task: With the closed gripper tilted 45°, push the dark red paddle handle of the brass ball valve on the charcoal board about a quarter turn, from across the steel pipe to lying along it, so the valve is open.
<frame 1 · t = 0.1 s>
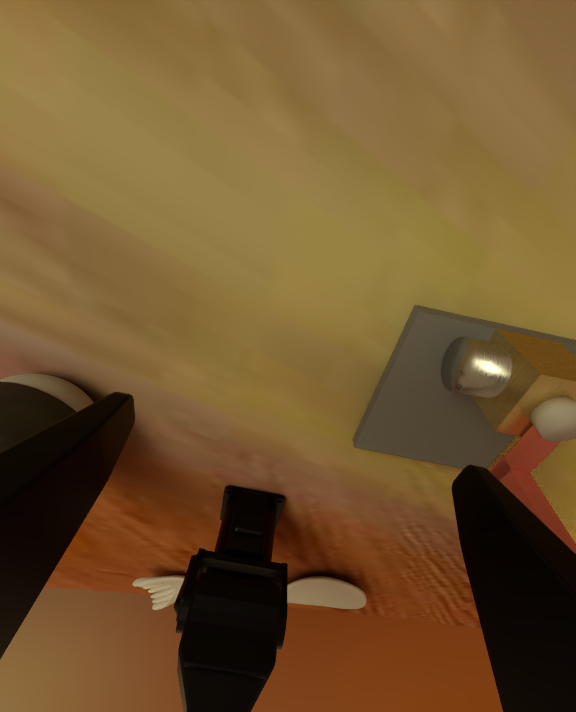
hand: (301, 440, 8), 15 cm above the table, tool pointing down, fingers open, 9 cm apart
valve lever: (542, 517, 17), point 10 cm above the table, hinge at 0.0°
white double-ended utensil part: (253, 576, 47), on the table
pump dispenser: (64, 399, 29), on the table
ball valve: (501, 354, 23), resting on mounting board
mounting board: (451, 396, 26), on the table
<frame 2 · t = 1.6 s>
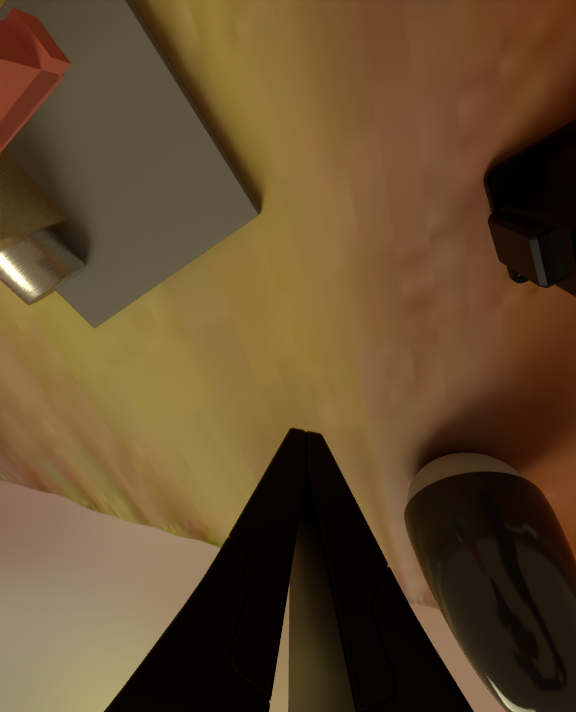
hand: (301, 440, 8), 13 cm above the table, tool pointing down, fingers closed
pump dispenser: (455, 472, 28), on the table
ball valve: (25, 202, 18), resting on mounting board
mounting board: (96, 179, 17), on the table
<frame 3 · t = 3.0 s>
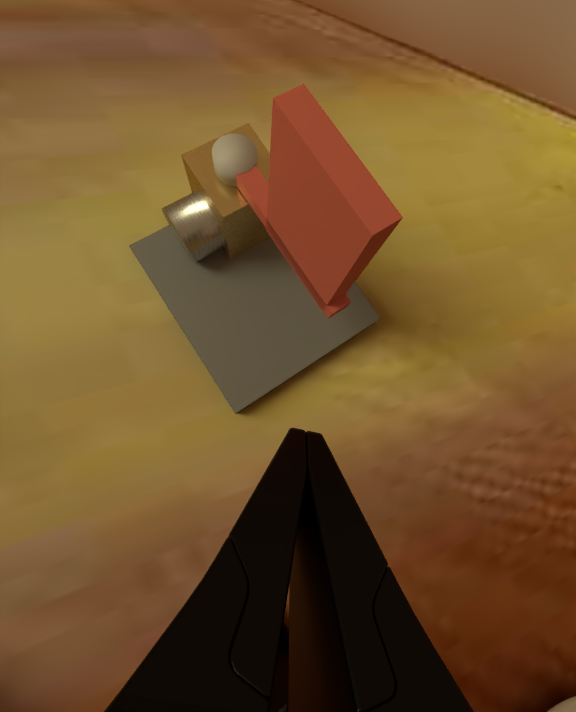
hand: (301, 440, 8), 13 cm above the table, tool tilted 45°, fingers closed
valve lever: (285, 182, 14), point 10 cm above the table, hinge at 0.0°
ball valve: (241, 228, 24), resting on mounting board
mounting board: (257, 288, 23), on the table
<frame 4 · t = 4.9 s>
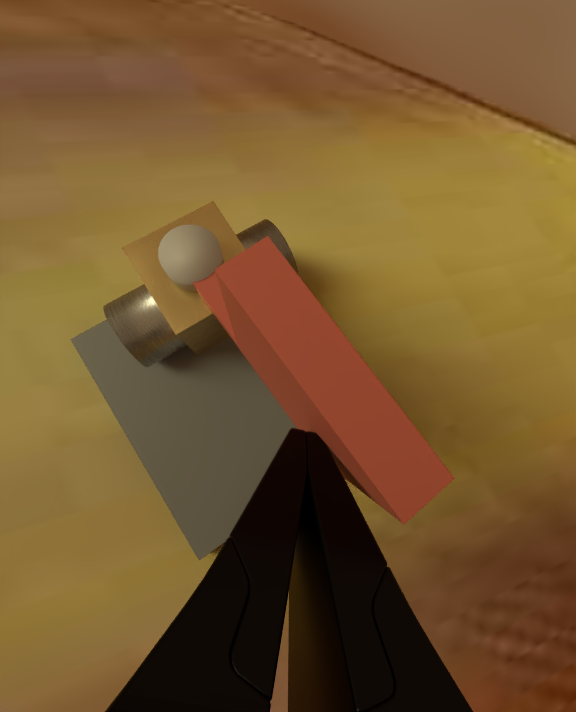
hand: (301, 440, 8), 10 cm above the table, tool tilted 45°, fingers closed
valve lever: (255, 323, 10), point 10 cm above the table, hinge at 3.7°, touching gripper
ball valve: (214, 309, 19), resting on mounting board
mounting board: (232, 385, 19), on the table
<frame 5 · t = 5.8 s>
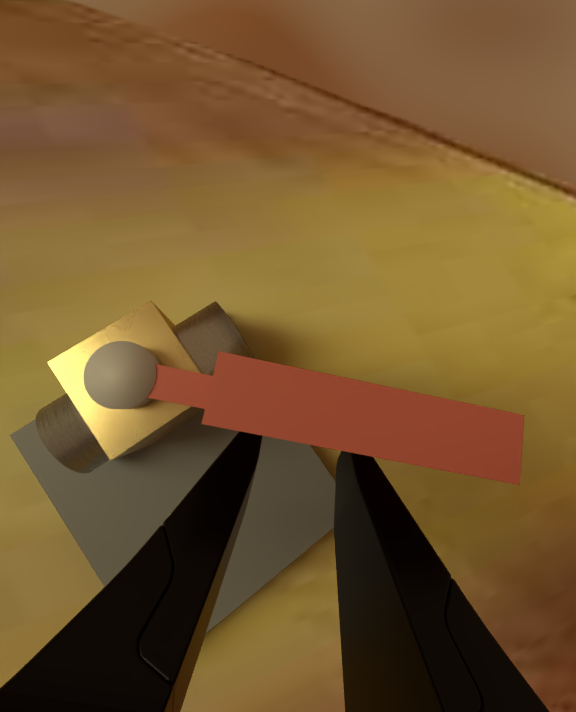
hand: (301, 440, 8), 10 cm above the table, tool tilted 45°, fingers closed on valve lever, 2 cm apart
valve lever: (241, 397, 9), point 10 cm above the table, hinge at 43.7°, touching gripper
ball valve: (170, 386, 18), resting on mounting board
mounting board: (192, 470, 18), on the table
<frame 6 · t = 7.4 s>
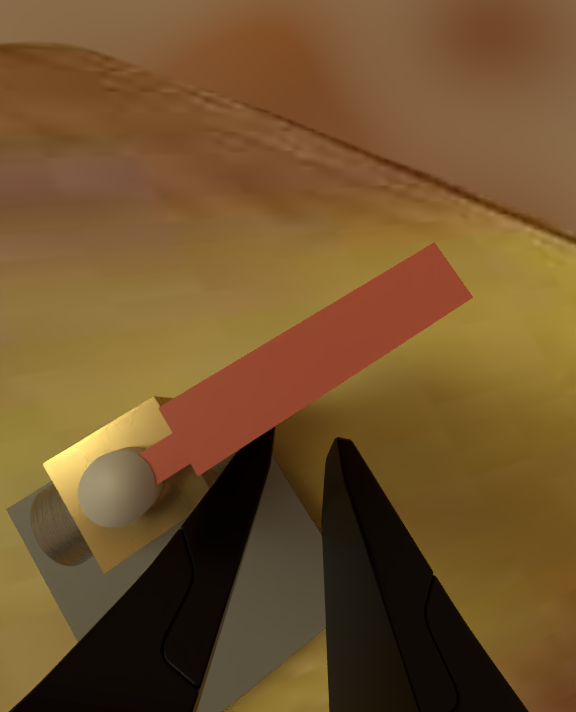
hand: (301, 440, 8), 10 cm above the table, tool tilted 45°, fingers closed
valve lever: (225, 418, 9), point 10 cm above the table, hinge at 89.3°, touching gripper
ball valve: (173, 455, 18), resting on mounting board
mounting board: (192, 546, 17), on the table
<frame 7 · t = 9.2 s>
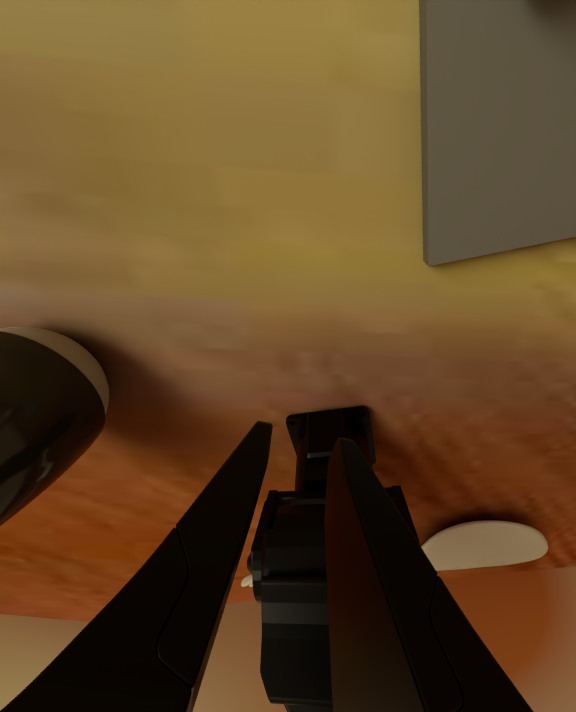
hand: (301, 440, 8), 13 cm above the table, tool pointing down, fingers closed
white double-ended utensil part: (378, 547, 37), on the table
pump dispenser: (65, 364, 25), on the table
mounting board: (568, 76, 14), on the table
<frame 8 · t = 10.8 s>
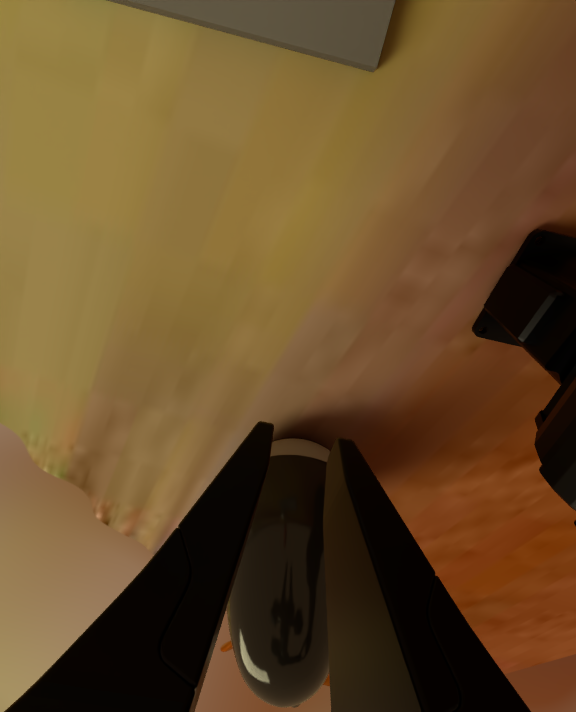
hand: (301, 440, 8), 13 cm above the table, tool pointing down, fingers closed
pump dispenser: (296, 458, 29), on the table
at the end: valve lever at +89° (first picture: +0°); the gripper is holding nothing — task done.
